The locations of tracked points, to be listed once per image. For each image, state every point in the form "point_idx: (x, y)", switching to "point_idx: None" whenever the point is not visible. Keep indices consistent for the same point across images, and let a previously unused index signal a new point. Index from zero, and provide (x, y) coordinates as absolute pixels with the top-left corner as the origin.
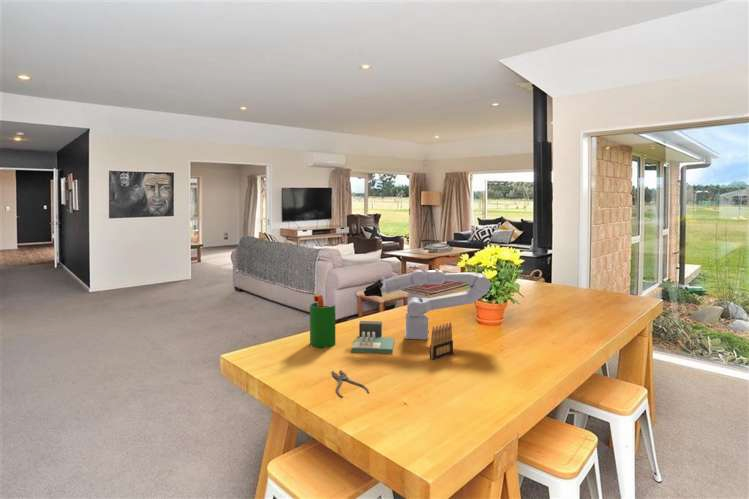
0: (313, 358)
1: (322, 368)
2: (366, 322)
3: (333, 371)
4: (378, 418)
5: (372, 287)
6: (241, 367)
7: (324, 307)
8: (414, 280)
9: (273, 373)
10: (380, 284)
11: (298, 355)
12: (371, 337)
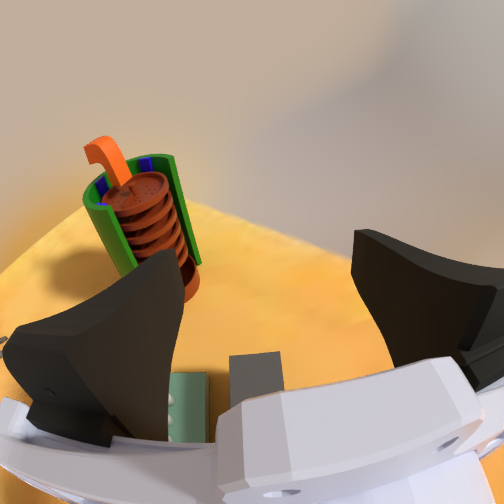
0: (73, 291)
1: (25, 318)
2: (255, 385)
3: (3, 338)
4: None
5: (101, 295)
6: (74, 212)
7: (85, 195)
8: None
9: (37, 254)
10: (450, 352)
11: (97, 260)
12: (197, 430)
